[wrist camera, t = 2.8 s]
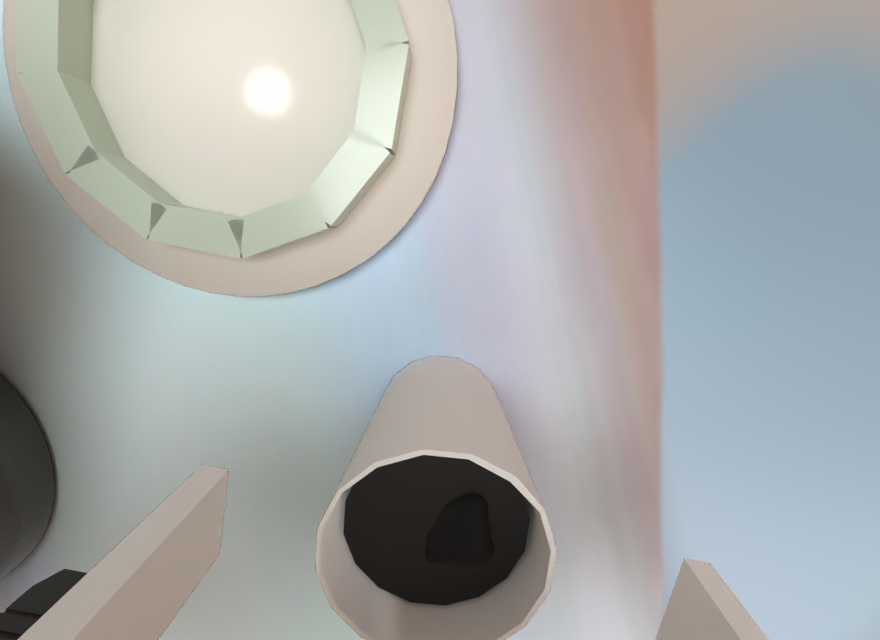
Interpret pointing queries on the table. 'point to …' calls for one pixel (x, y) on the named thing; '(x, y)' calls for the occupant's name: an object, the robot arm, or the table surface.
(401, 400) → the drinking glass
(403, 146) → the tray
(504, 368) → the table surface
